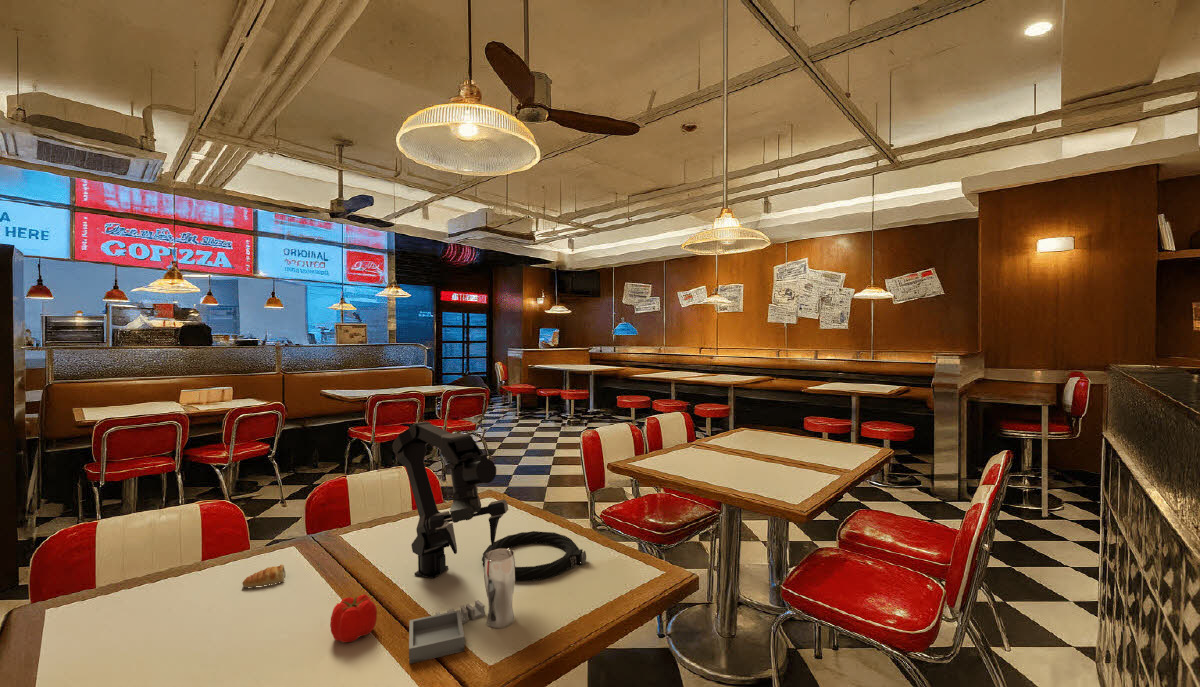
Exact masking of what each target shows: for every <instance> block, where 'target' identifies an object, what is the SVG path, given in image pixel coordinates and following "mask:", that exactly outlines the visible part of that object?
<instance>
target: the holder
mask: <svg viewBox="0 0 1200 687" xmlns="http://www.w3.org/2000/svg"><path fill="white" fill-rule="evenodd" d="M460 612H461V609H458V610H455V611H452V612H448V613H447V612H443V613H440V614H438V615H436V614H433V615H429V616H423V617H419V618H414V619H409V626H408V627H409V629H408V630H409V631H408V633H409V634H408V637H409V638H408V664H409V665H411V664H416V663H419V662H424V661H428V660H432V659H437V658H441V657H445V655H446V656H449V654H450V655H454V653H455V654H458V653H462V652H465V633H464V626H463V624H462V620H461V614H460Z"/></svg>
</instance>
